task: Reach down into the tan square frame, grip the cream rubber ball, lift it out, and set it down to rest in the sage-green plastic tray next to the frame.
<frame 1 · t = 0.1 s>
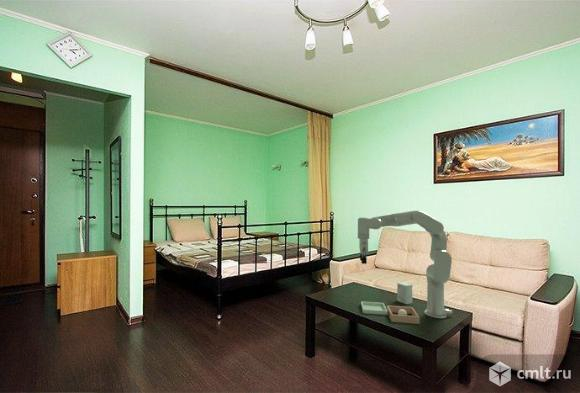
hand: (363, 262, 185), 31 cm above the table, tool pointing down, fingers open, 9 cm apart
tray: (373, 309, 183), on the table
tan square frame: (402, 317, 171), on the table
small box: (404, 302, 198), on the table
ball: (402, 313, 171), point 2 cm above the table
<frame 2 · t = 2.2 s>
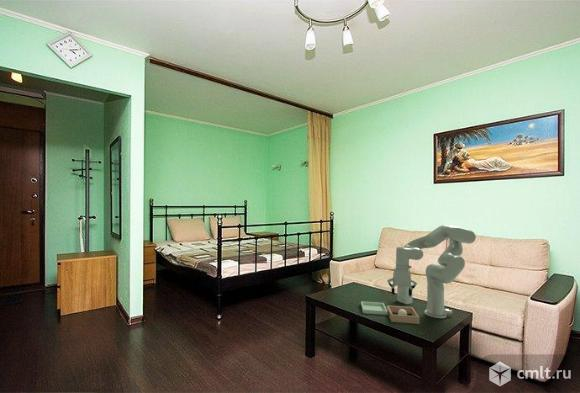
hand: (401, 295, 171), 14 cm above the table, tool pointing down, fingers open, 9 cm apart
nothing on the table moved.
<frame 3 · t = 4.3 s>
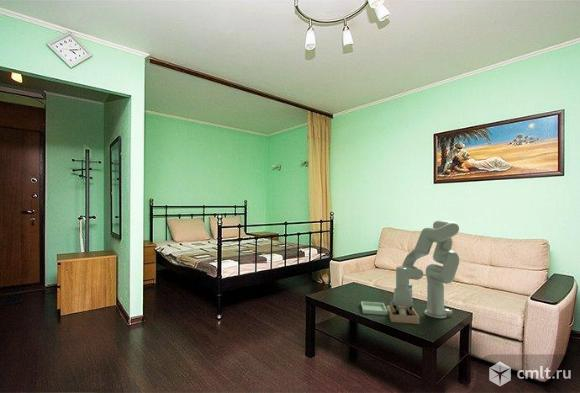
hand: (402, 316, 171), 1 cm above the table, tool pointing down, fingers closed on ball, 4 cm apart
ball: (402, 313, 171), point 2 cm above the table, touching gripper
everything else where it was.
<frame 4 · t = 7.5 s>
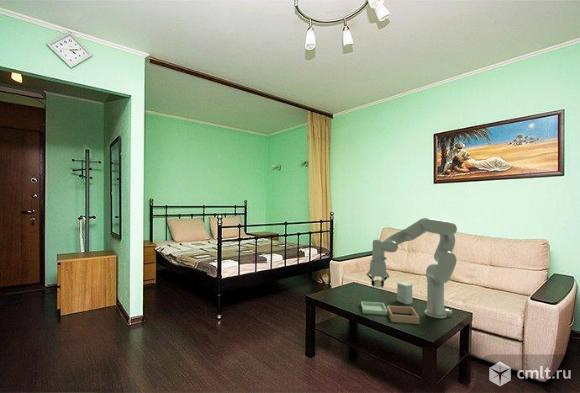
hand: (377, 286, 181), 16 cm above the table, tool pointing down, fingers closed on ball, 4 cm apart
ball: (377, 283, 181), point 18 cm above the table, touching gripper
everything else where it was.
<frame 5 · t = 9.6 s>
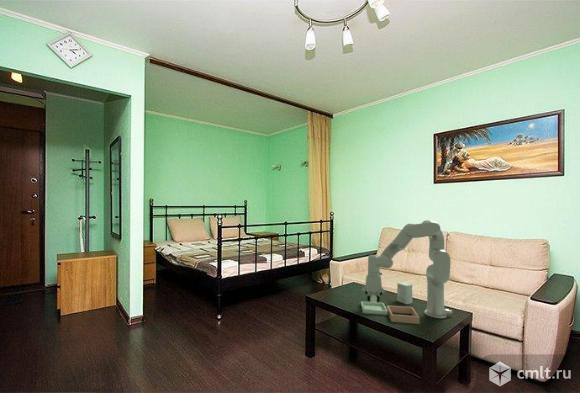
hand: (373, 301, 183), 5 cm above the table, tool pointing down, fingers closed on ball, 4 cm apart
ball: (373, 298, 183), point 7 cm above the table, touching gripper
everything else where it was.
when the fingers open (3 cm above the table, at t = 11.0 s): ball drops 1 cm, resting on tray.
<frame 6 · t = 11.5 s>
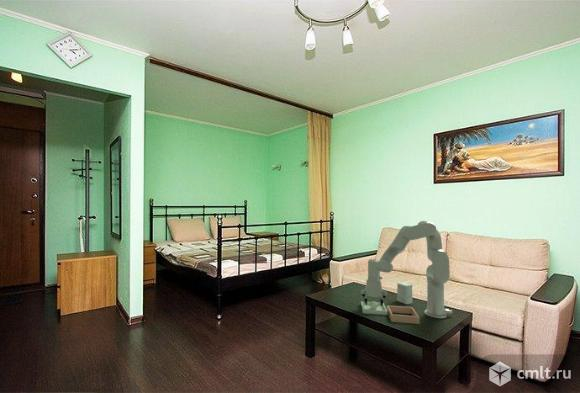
hand: (373, 304, 183), 4 cm above the table, tool pointing down, fingers open, 9 cm apart
ball: (373, 305, 183), point 3 cm above the table, touching tray
everything else where it was.
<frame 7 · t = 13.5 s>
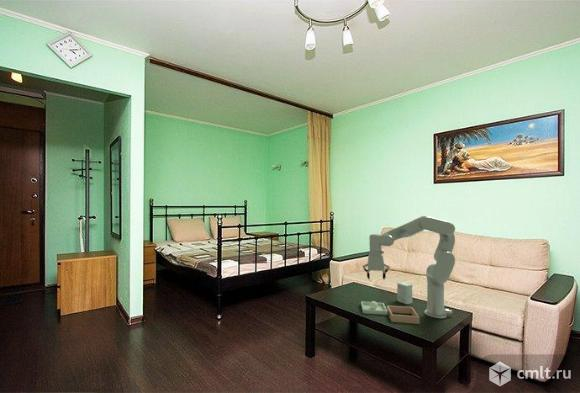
hand: (376, 278, 184), 20 cm above the table, tool pointing down, fingers open, 9 cm apart
nothing on the table moved.
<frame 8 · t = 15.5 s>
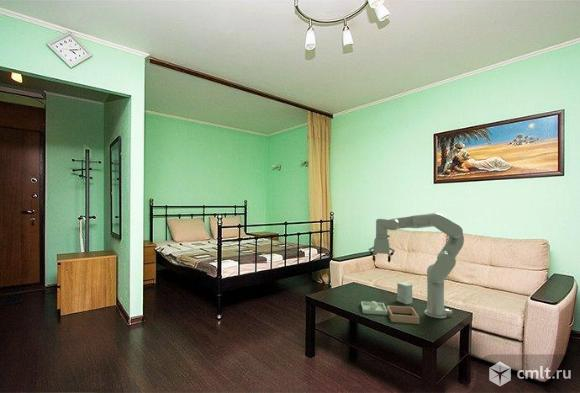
hand: (381, 261, 190), 30 cm above the table, tool pointing down, fingers open, 9 cm apart
nothing on the table moved.
at the end: ball inside the target area on the tray (0.2 cm from its centre), point 3.1 cm above the tray's base; ball moved 18.5 cm from its start; the gripper is holding nothing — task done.
